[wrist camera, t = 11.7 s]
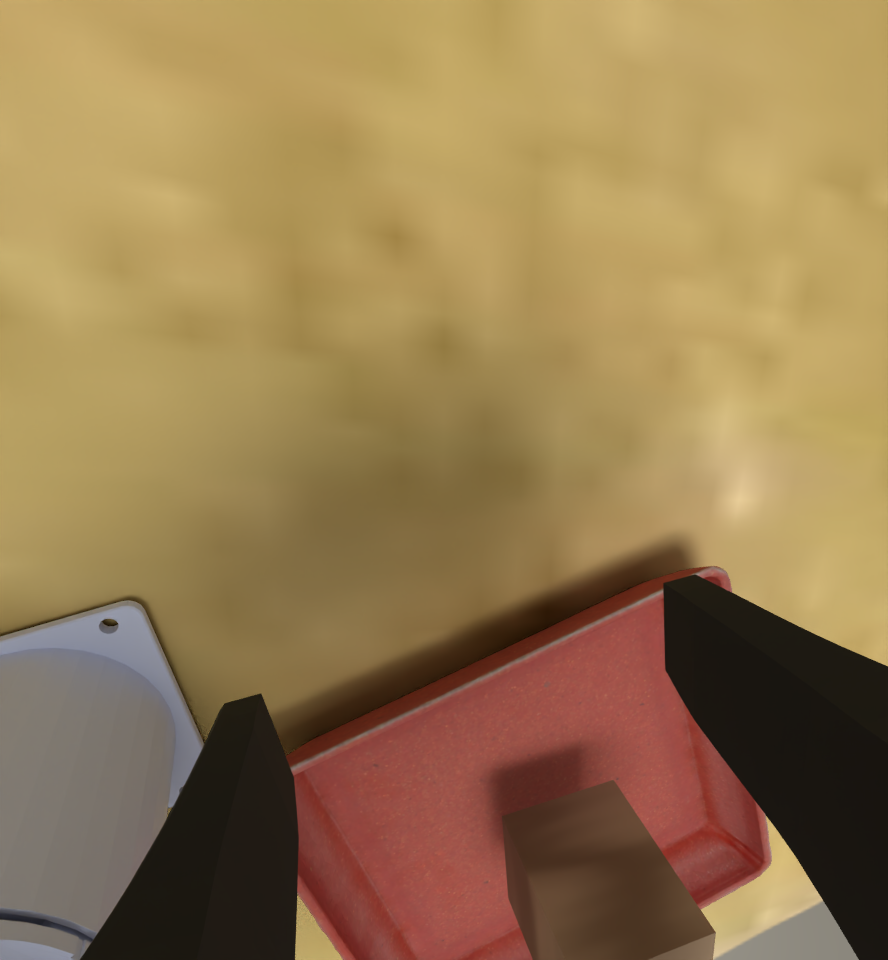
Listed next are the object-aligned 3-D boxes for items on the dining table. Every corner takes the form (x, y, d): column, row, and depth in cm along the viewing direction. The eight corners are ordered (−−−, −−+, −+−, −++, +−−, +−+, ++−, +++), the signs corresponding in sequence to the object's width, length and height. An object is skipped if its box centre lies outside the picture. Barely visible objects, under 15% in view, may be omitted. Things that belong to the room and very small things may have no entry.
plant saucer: (676, 521, 26) (733, 562, 23) (731, 814, 34) (778, 873, 31) (230, 725, 24) (228, 799, 21) (400, 988, 32) (417, 1069, 29)
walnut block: (508, 898, 26) (579, 1076, 21) (501, 815, 24) (577, 987, 19) (612, 861, 27) (705, 1022, 22) (613, 779, 25) (715, 932, 20)
